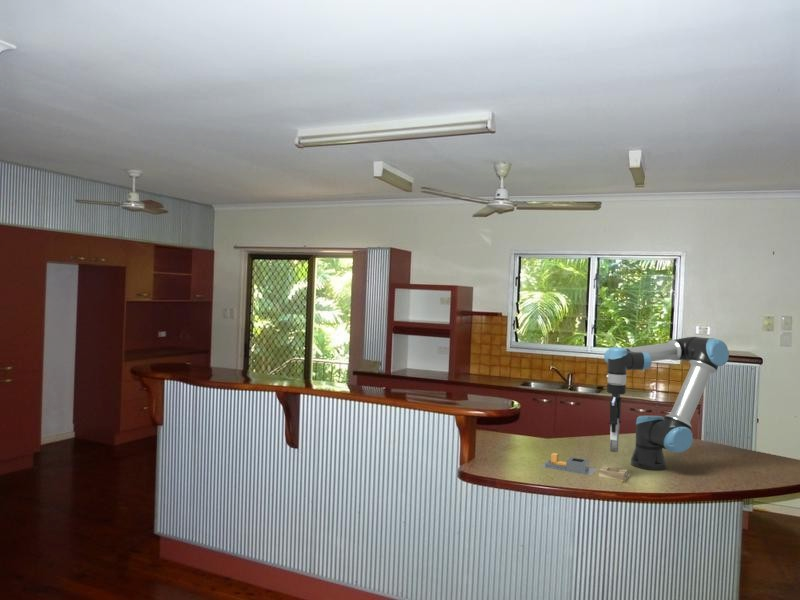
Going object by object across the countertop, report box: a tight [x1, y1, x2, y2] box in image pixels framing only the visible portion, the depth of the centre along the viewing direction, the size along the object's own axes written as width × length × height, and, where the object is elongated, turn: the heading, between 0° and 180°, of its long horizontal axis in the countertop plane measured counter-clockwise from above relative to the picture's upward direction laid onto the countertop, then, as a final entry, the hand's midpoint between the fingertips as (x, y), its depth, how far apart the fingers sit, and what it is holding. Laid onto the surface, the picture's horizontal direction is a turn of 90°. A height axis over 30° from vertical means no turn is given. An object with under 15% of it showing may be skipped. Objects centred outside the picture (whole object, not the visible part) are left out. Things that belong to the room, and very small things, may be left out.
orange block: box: [550, 452, 566, 466], centre depth 273 cm, size 3×8×5 cm, turn 61°
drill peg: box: [609, 418, 620, 453], centre depth 262 cm, size 3×3×14 cm
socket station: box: [539, 456, 597, 476], centre depth 271 cm, size 12×22×5 cm, turn 61°
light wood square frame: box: [598, 465, 629, 484], centre depth 262 cm, size 10×10×4 cm
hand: (614, 438), depth 262 cm, fingers closed on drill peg, 3 cm apart
